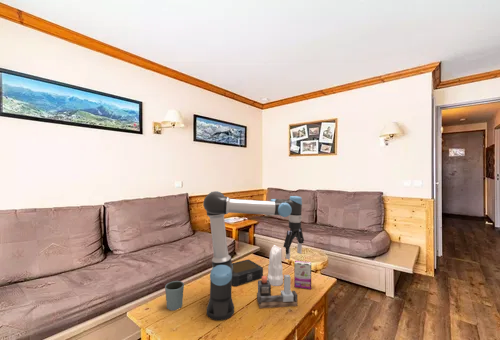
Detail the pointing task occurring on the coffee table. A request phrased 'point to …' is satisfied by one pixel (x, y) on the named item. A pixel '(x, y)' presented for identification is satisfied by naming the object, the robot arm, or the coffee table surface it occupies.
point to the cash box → (245, 272)
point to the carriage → (287, 290)
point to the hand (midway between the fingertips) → (293, 256)
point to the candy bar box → (302, 274)
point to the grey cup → (174, 295)
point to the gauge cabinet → (264, 288)
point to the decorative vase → (275, 267)
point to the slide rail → (275, 301)
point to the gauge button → (264, 279)
